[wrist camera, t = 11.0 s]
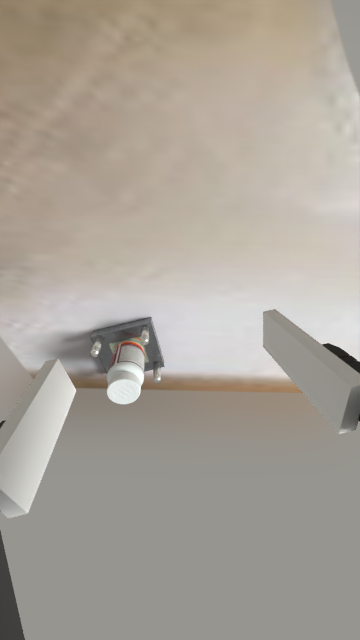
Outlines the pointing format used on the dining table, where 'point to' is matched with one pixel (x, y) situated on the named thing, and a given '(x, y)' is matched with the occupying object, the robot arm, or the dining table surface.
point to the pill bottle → (126, 372)
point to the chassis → (129, 331)
